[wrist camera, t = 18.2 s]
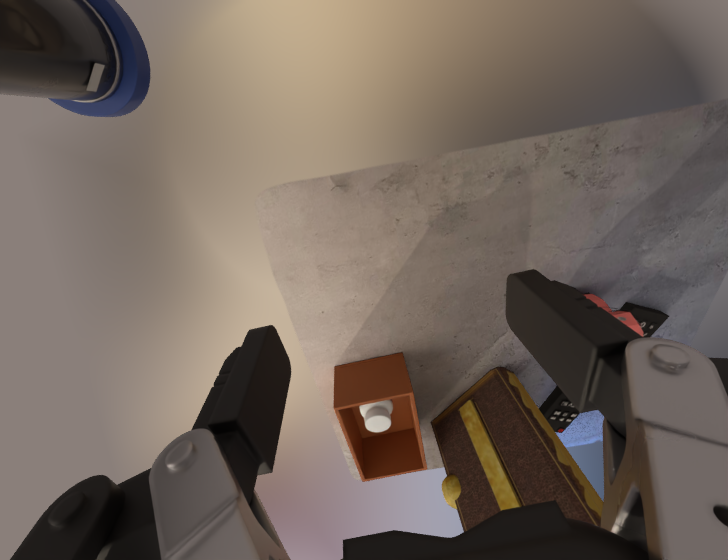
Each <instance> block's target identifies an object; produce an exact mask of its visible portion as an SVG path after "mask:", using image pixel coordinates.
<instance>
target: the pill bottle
mask: <svg viewBox="0 0 728 560" xmlns="http://www.w3.org/2000/svg"><path fill="white" fill-rule="evenodd" d="M359 408H360V413H361V415H362V416H363V417H364V421H365V427H366V428H367V429H368V430H369V431H371V432H383V431H385V430H387V429H388V428H389V427H390V426H391V416H390V414H391V413H392V410H393V403H392V399H390V400H385V401H380V402H375V403H370V404H365V405H360V406H359Z"/></svg>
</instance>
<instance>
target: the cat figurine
mask: <svg viewBox="0 0 728 560" xmlns="http://www.w3.org/2000/svg"><path fill="white" fill-rule="evenodd" d="M583 295H584V296H586V299H590V300H591V301H593V302H594V303H596V304H597V306H598V307H601V308H603V309H604V310H606V311H607V312H608V313H610V314H611V315H613V316H614V317H615V318H617V319H618V320H620V321H621V322H623V323H624V324H625V325H627V326H628V327H630V328H631V329H632V330H634V331H635V332H637V333H638V334H639V335H641V336H642V337H643V331H642V329H641V327H642V325H641V324H640V323H639V322H637V321H636V320H635V318H636V316H635V318H634V317H633V316H632V314H631V313H630V312H625V311H626V310H623V311H621V310H616V312H612V310H611V309H610V307H609V306H608V305H607V304H606V303H605V302H604V301H603V300H602V299H601V298H599V297H597V296H595V295H593V294H590V293H586V294H583ZM614 309H616V308H614ZM628 311H630V310H628ZM641 321H642V320H641ZM642 322H643V321H642ZM640 326H641V327H640Z"/></svg>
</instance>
